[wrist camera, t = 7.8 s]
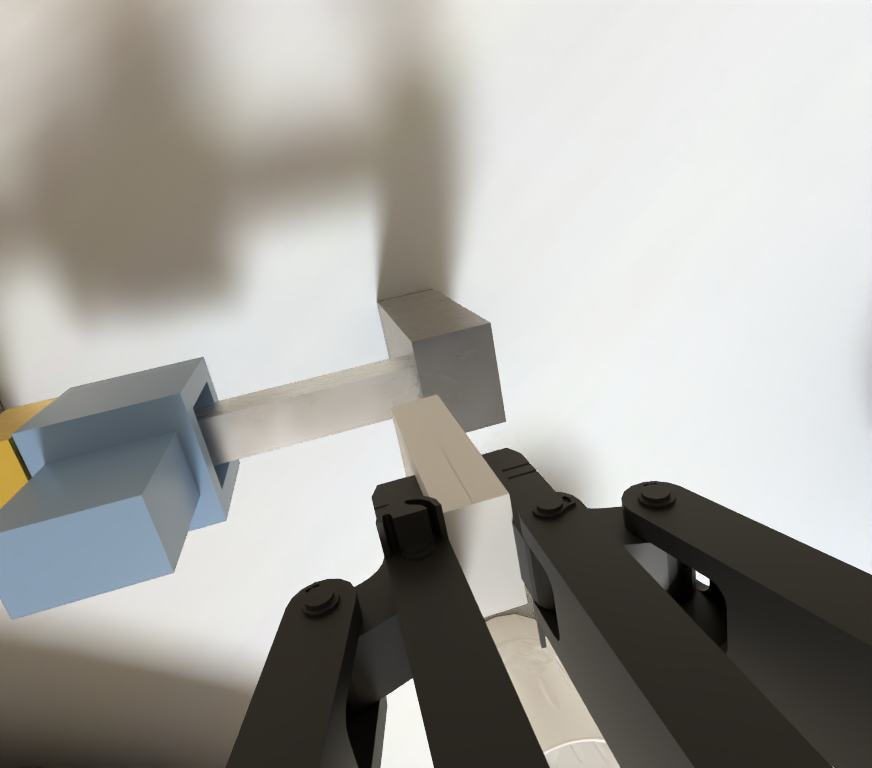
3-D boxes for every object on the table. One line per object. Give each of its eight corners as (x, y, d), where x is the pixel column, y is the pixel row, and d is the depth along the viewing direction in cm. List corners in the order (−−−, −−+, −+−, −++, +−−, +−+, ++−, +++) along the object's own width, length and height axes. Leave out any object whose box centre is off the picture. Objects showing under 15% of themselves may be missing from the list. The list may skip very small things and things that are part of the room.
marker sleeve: (203, 356, 22) (145, 447, 14) (239, 462, 24) (207, 603, 15) (70, 387, 22) (-79, 504, 13) (116, 495, 23) (10, 662, 15)
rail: (432, 285, 29) (503, 325, 19) (446, 364, 31) (521, 440, 21) (-94, 405, 25) (-357, 536, 15) (-49, 489, 27) (-261, 660, 17)
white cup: (425, 691, 37) (467, 851, 28) (477, 592, 36) (541, 726, 27) (523, 712, 40) (592, 865, 30) (576, 620, 38) (665, 751, 29)
